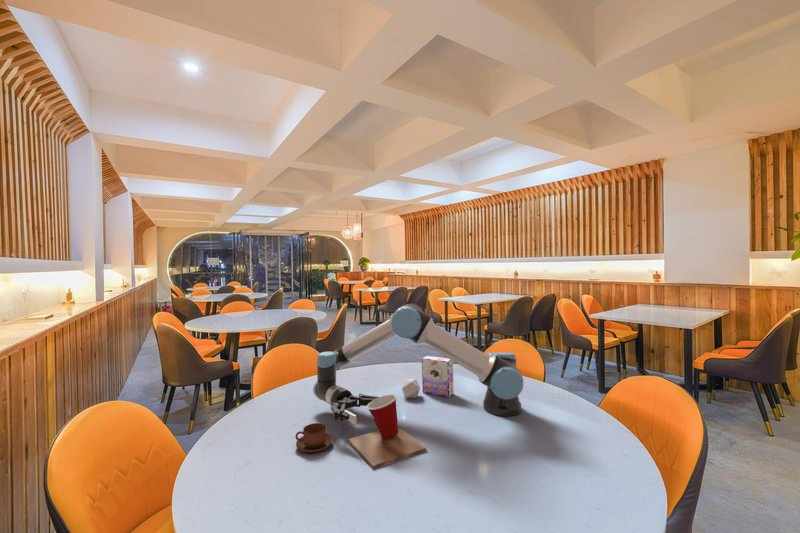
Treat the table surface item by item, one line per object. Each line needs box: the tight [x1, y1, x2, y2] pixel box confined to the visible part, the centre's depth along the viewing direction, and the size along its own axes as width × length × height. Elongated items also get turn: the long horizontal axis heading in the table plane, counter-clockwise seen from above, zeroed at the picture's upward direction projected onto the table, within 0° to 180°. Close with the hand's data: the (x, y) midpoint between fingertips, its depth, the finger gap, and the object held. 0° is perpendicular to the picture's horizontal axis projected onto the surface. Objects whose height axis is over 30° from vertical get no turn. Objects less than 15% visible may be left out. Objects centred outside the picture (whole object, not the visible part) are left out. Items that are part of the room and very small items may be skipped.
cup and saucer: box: [295, 422, 334, 453], centre depth 116 cm, size 12×12×6 cm
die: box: [401, 378, 421, 399], centre depth 160 cm, size 8×9×10 cm
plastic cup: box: [366, 394, 399, 439], centre depth 120 cm, size 11×11×12 cm
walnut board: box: [347, 426, 427, 470], centre depth 115 cm, size 19×19×1 cm
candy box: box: [421, 355, 455, 398], centre depth 164 cm, size 14×6×16 cm, turn 58°
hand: (372, 414), depth 121 cm, fingers open, 13 cm apart
